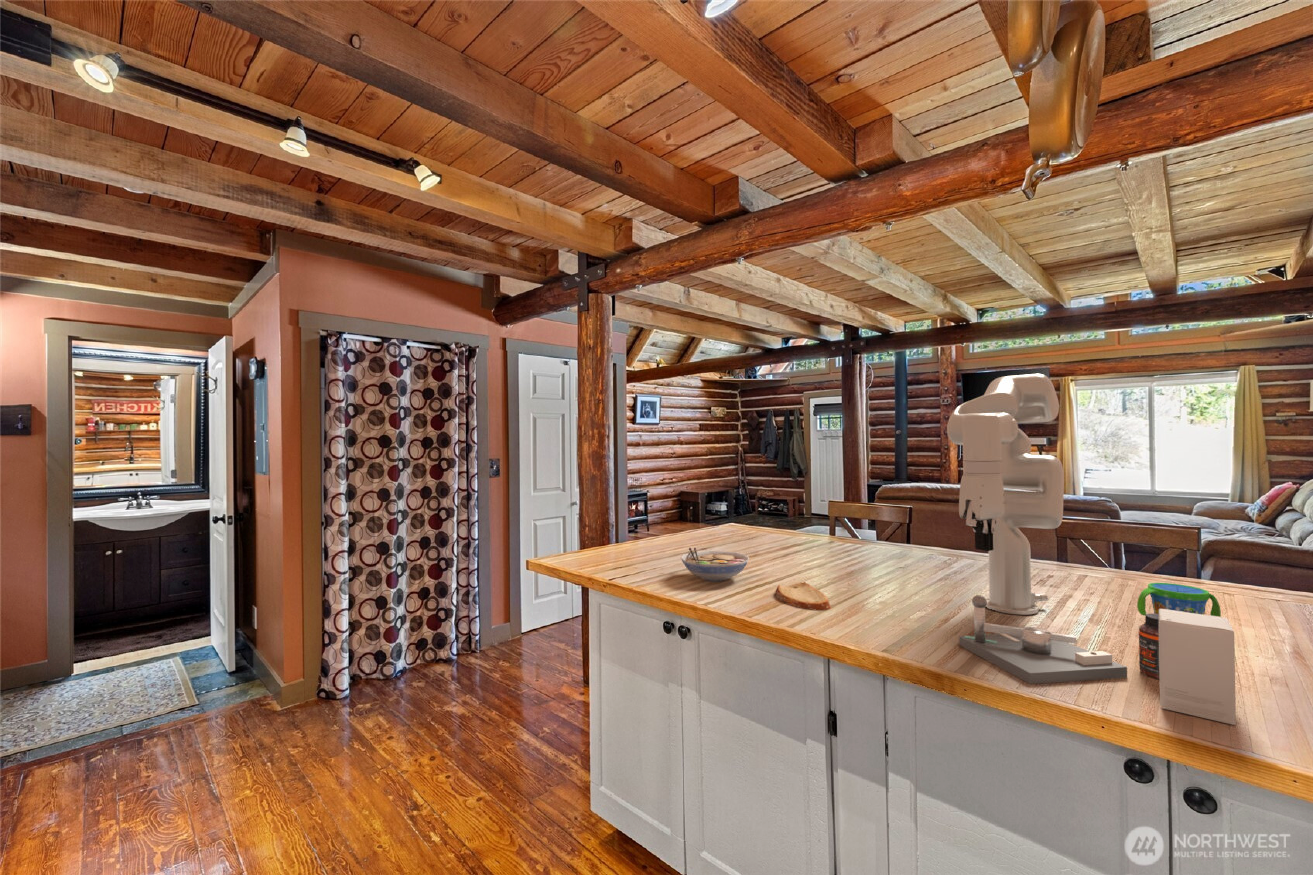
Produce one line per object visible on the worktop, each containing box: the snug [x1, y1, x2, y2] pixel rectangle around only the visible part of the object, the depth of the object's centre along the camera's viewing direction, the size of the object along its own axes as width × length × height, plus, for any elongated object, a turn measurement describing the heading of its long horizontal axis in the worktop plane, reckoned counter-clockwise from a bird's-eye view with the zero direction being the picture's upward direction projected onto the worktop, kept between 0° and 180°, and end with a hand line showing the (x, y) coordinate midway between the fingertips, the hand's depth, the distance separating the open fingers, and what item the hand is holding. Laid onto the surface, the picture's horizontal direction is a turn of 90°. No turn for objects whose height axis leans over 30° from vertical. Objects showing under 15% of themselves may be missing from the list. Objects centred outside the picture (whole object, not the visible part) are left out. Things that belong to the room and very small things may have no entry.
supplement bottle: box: [1138, 612, 1159, 680], centre depth 105 cm, size 6×6×11 cm
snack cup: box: [1136, 582, 1222, 617], centre depth 130 cm, size 16×10×10 cm
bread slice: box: [774, 581, 832, 611], centre depth 160 cm, size 18×18×4 cm
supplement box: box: [1158, 609, 1237, 726], centre depth 93 cm, size 9×9×15 cm
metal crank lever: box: [971, 594, 1077, 654], centre depth 115 cm, size 18×5×10 cm, turn 58°
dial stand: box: [958, 633, 1128, 685], centre depth 113 cm, size 20×20×4 cm
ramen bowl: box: [680, 547, 750, 583], centre depth 184 cm, size 25×23×8 cm
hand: (984, 549), depth 125 cm, fingers closed
